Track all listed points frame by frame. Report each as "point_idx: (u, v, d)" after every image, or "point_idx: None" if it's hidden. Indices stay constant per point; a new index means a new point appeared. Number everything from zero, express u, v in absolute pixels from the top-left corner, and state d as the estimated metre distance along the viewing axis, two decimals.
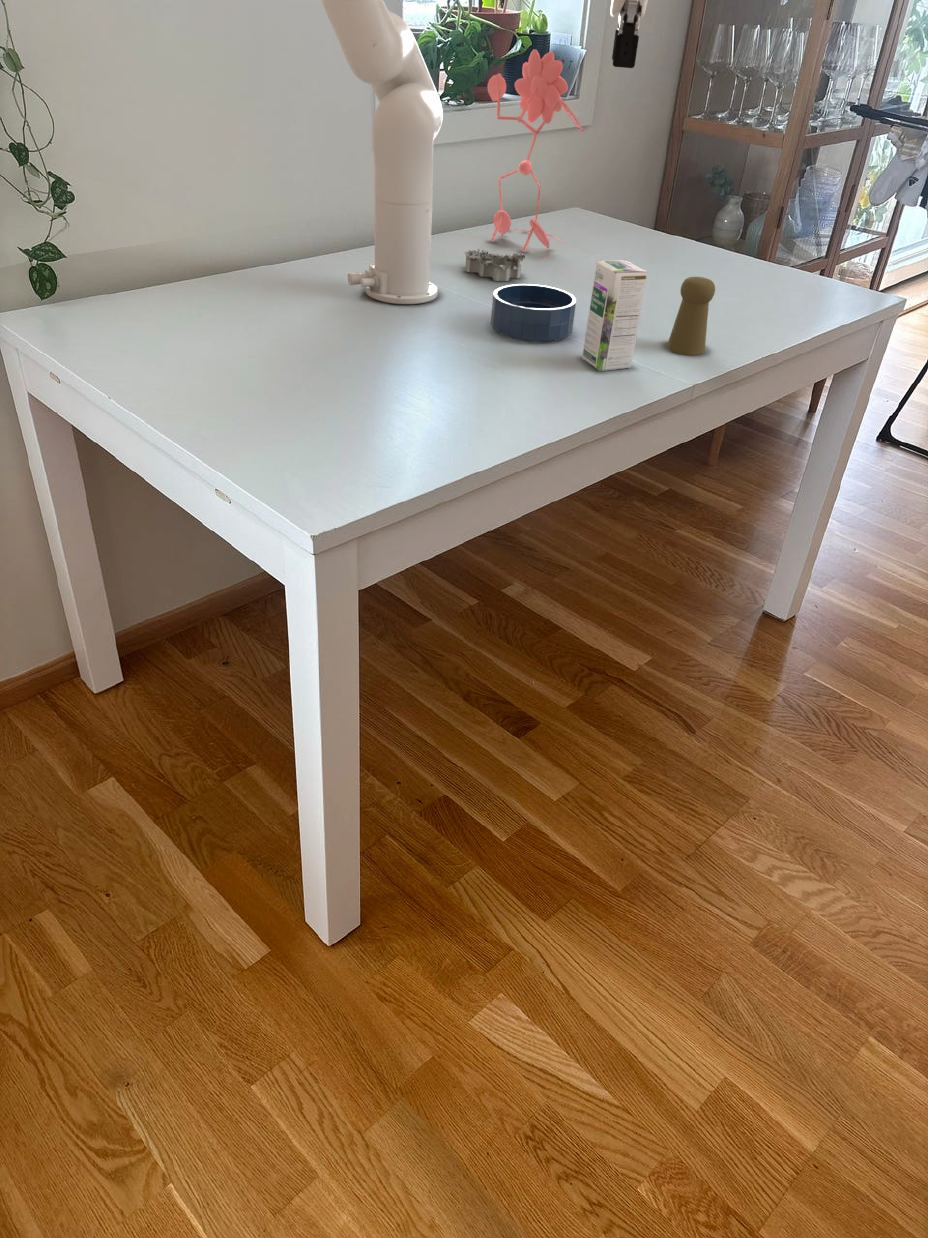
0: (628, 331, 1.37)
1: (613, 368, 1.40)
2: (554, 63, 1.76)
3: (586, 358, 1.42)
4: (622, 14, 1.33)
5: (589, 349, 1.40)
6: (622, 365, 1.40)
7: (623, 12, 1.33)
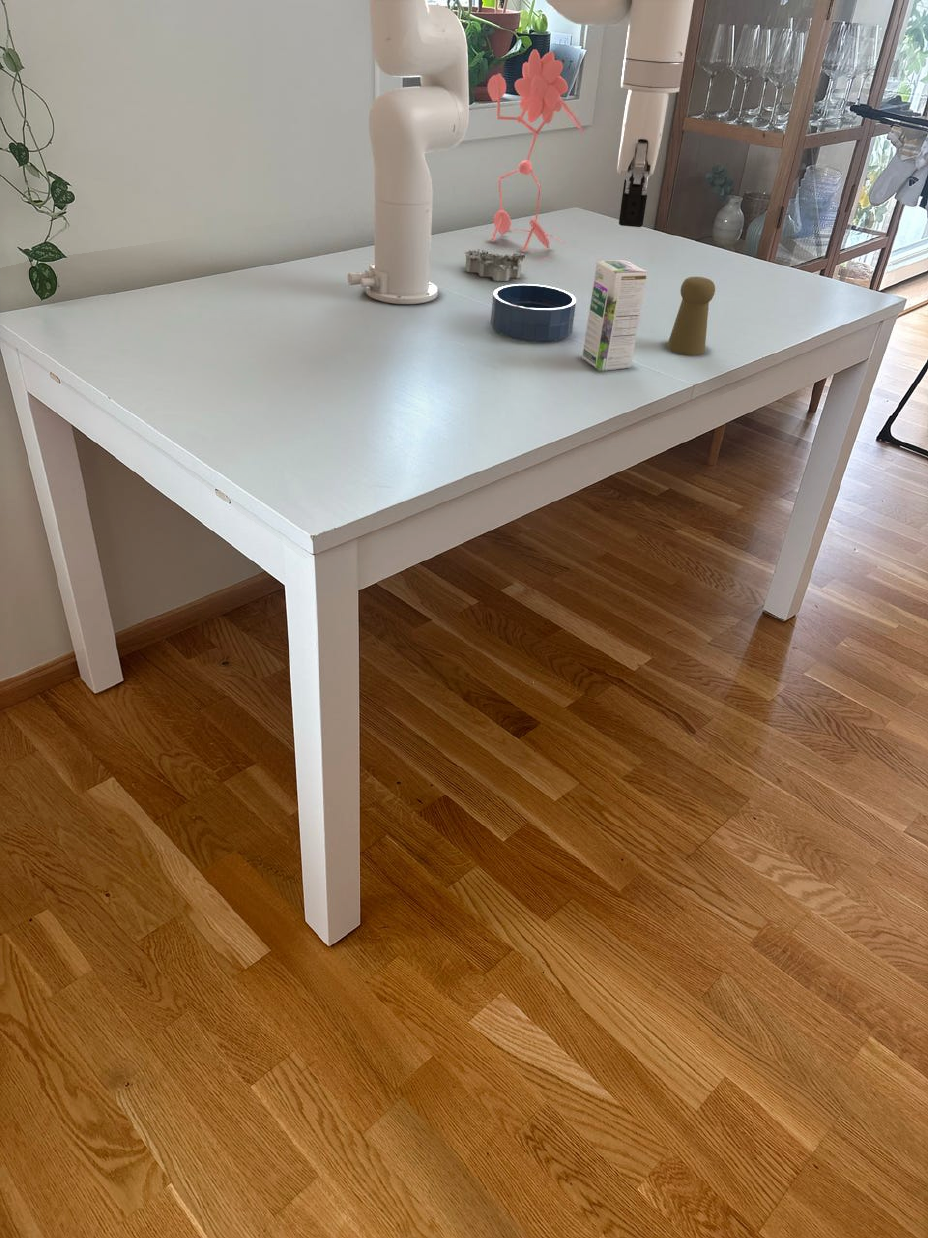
0: (628, 330, 1.37)
1: (613, 368, 1.40)
2: (554, 63, 1.76)
3: (586, 358, 1.42)
4: (629, 173, 1.22)
5: (589, 349, 1.40)
6: (622, 365, 1.40)
7: (630, 171, 1.22)
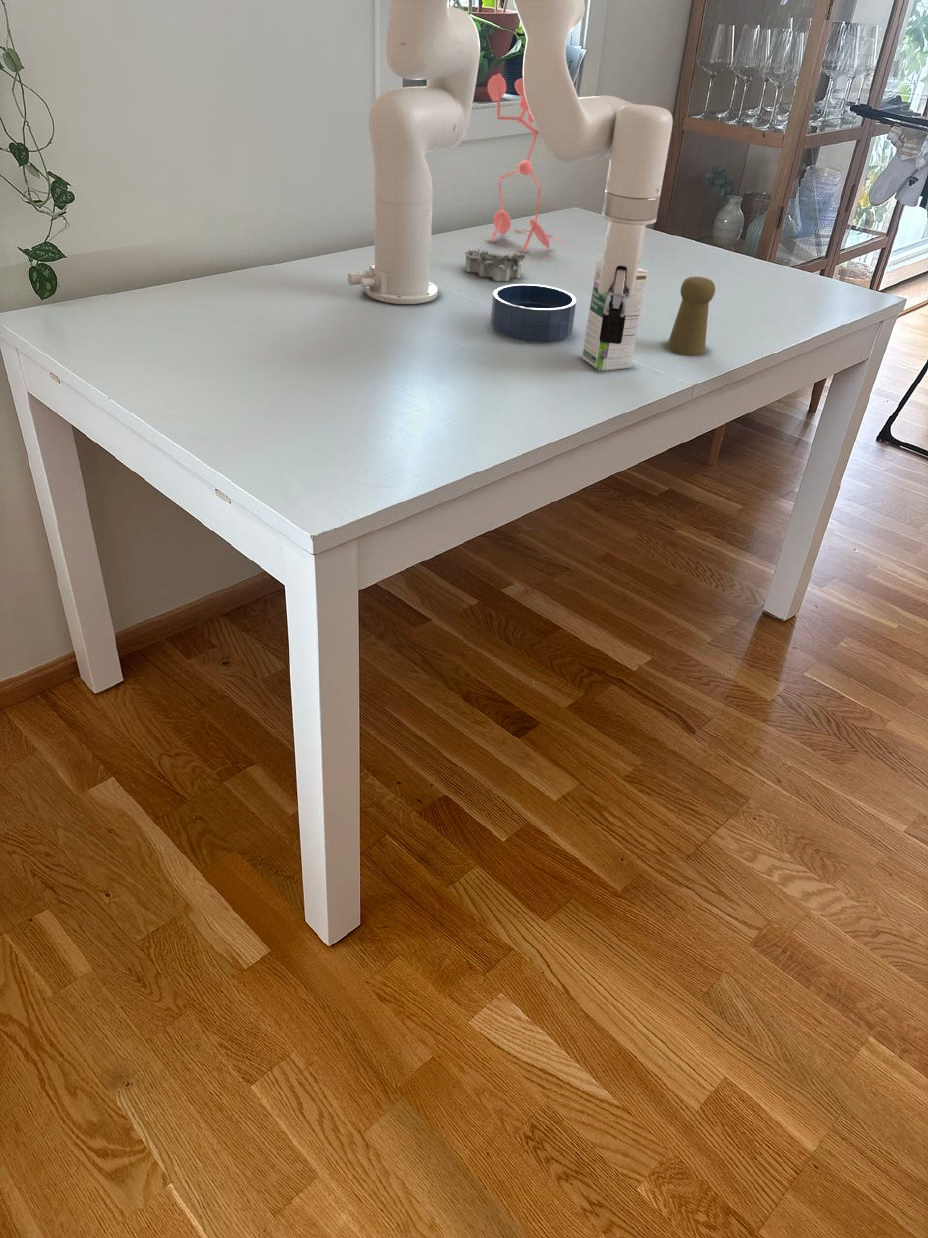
0: (628, 331, 1.37)
1: (613, 368, 1.40)
2: None
3: (586, 358, 1.42)
4: (609, 297, 1.32)
5: (589, 349, 1.40)
6: (622, 365, 1.40)
7: (610, 294, 1.32)
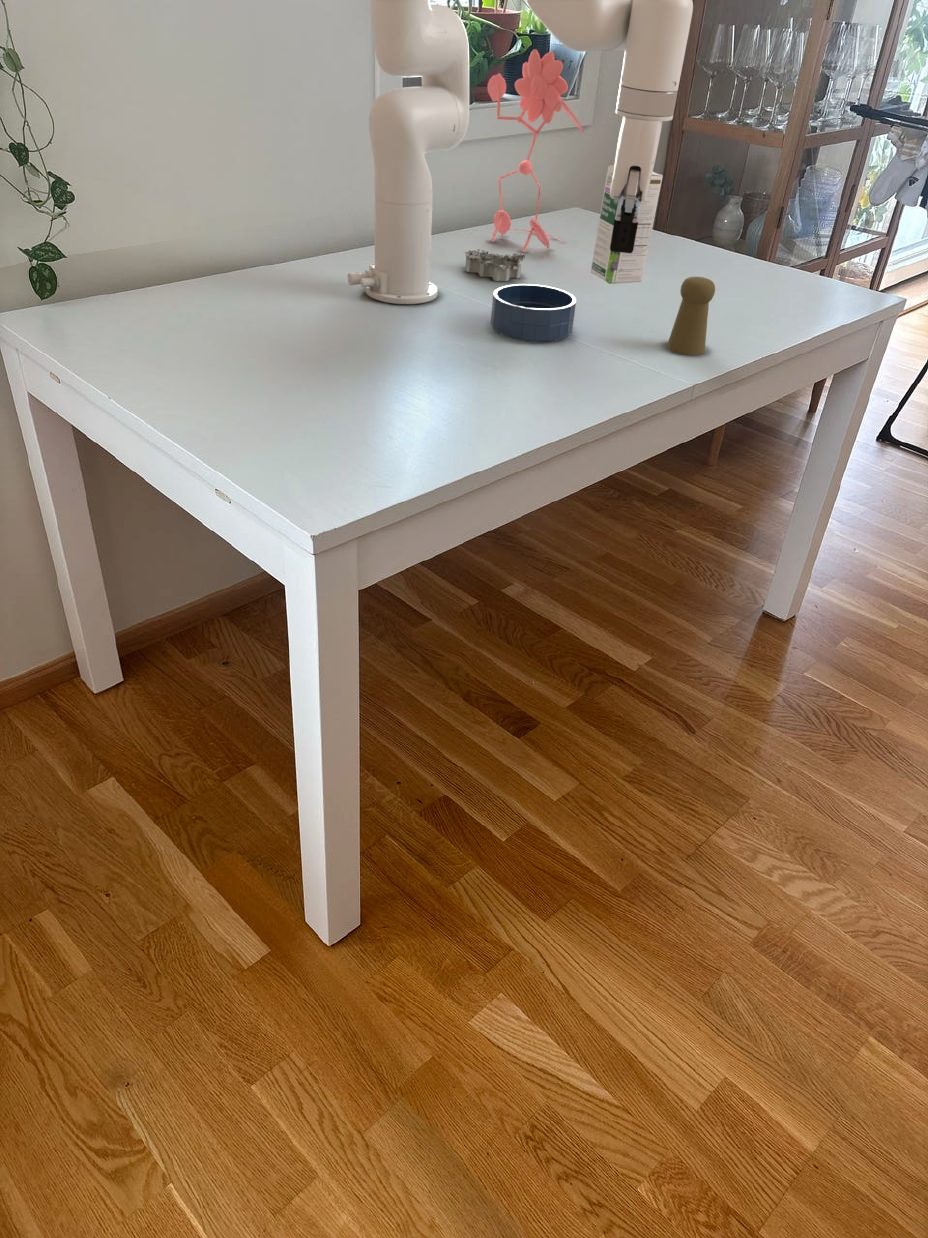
0: (640, 240, 1.30)
1: (623, 281, 1.33)
2: (554, 63, 1.76)
3: (595, 271, 1.35)
4: (621, 201, 1.25)
5: (598, 261, 1.33)
6: (632, 279, 1.33)
7: (622, 198, 1.25)
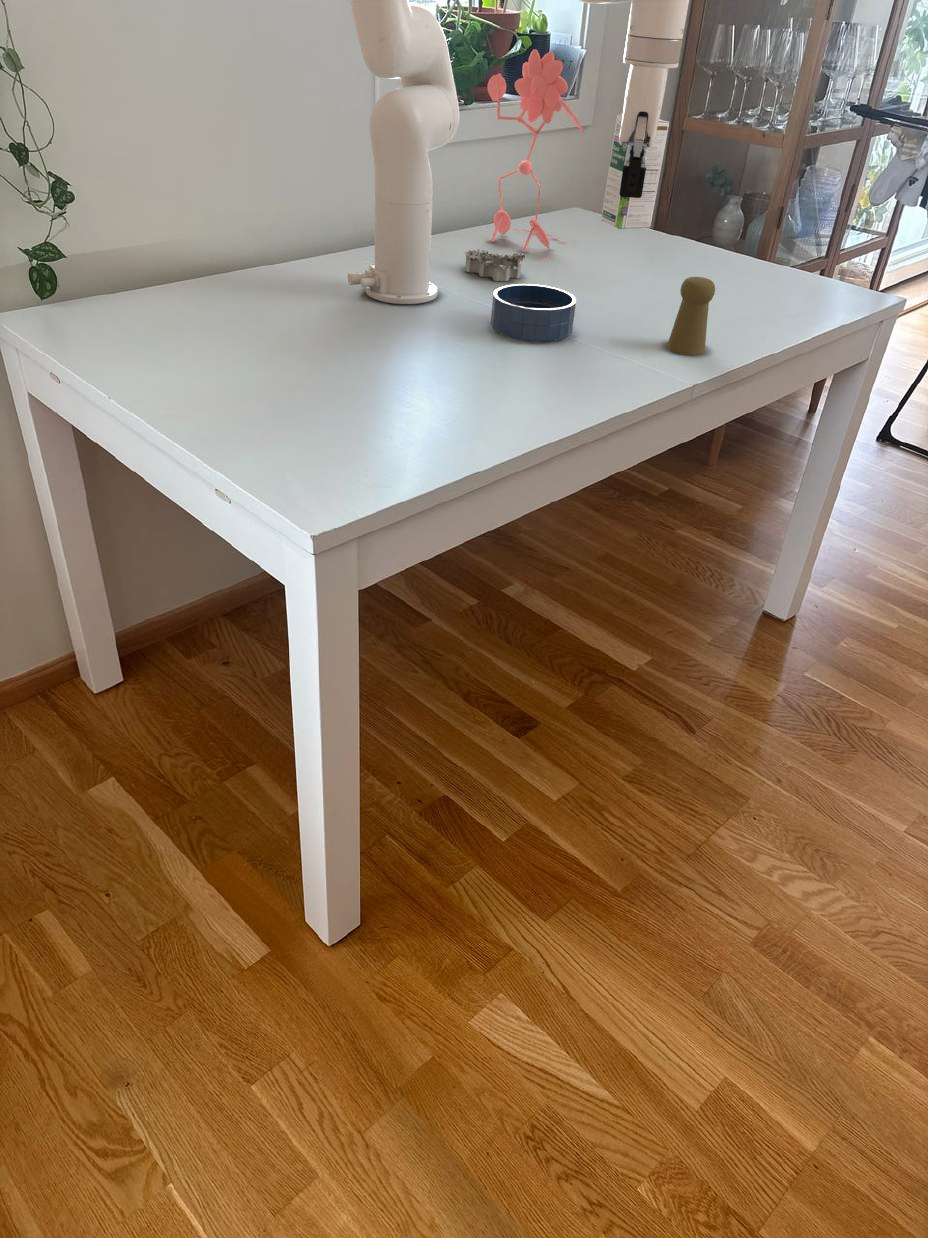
0: (649, 186, 1.36)
1: (633, 227, 1.39)
2: (554, 63, 1.76)
3: (605, 218, 1.40)
4: (629, 146, 1.31)
5: (609, 208, 1.39)
6: (641, 225, 1.39)
7: (630, 144, 1.31)
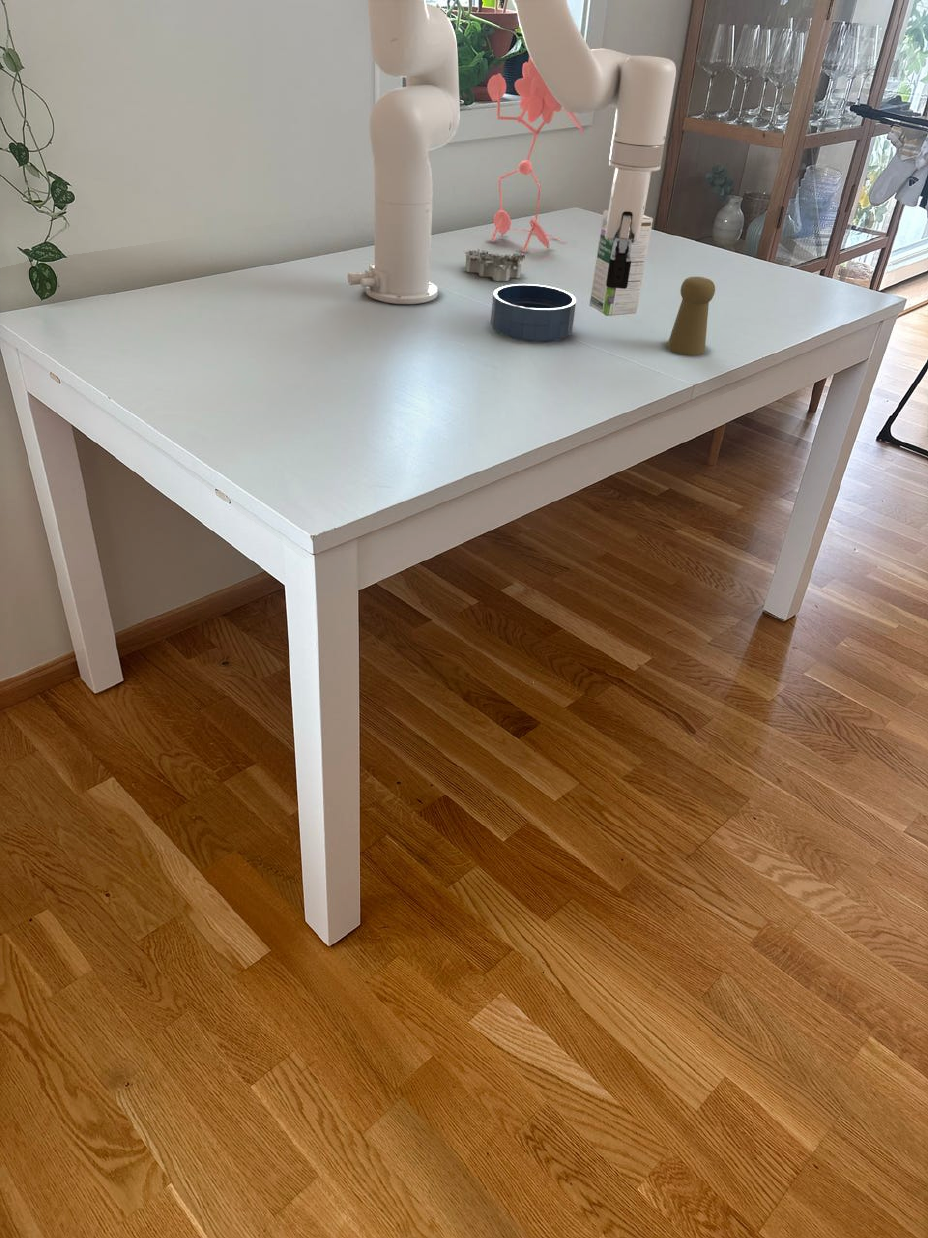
0: (634, 276, 1.43)
1: (619, 313, 1.46)
2: None
3: (593, 304, 1.48)
4: (615, 242, 1.38)
5: (596, 295, 1.47)
6: (627, 311, 1.46)
7: (616, 240, 1.38)
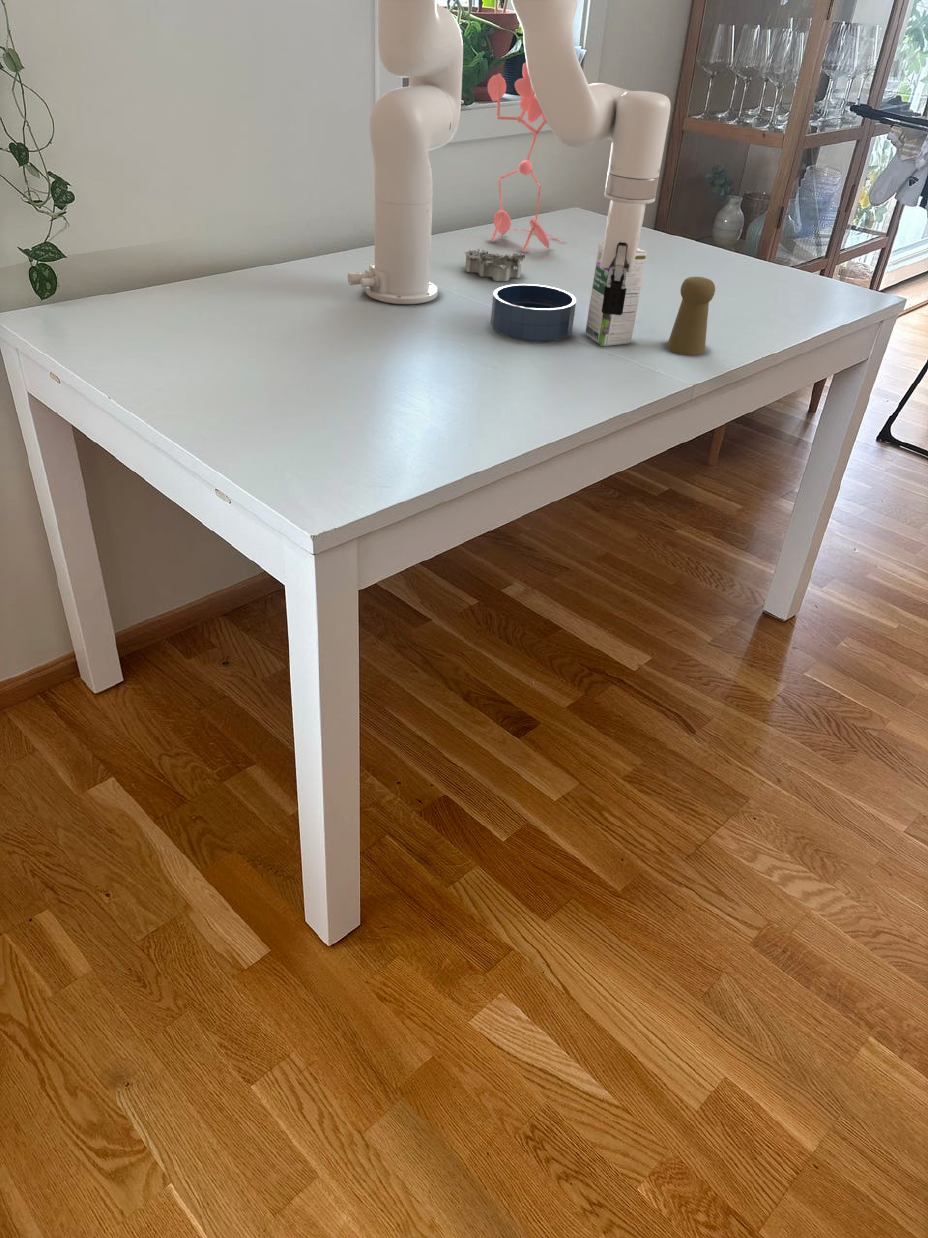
0: (629, 308, 1.46)
1: (614, 343, 1.49)
2: None
3: (589, 334, 1.51)
4: (610, 270, 1.40)
5: (592, 325, 1.49)
6: (622, 341, 1.49)
7: (611, 268, 1.40)
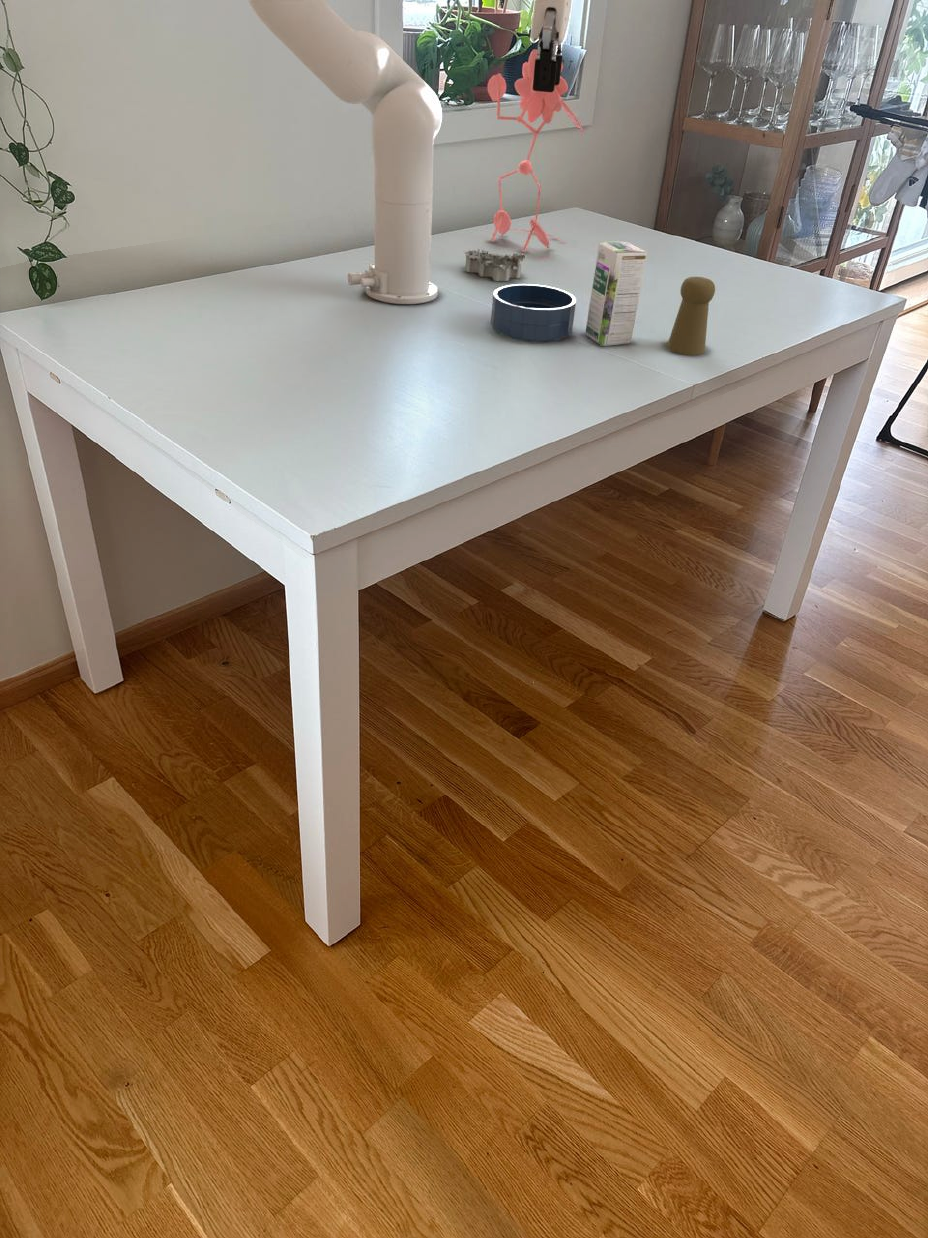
0: (629, 308, 1.46)
1: (614, 343, 1.49)
2: None
3: (589, 334, 1.51)
4: (540, 40, 1.36)
5: (592, 325, 1.49)
6: (622, 341, 1.49)
7: (541, 38, 1.36)
